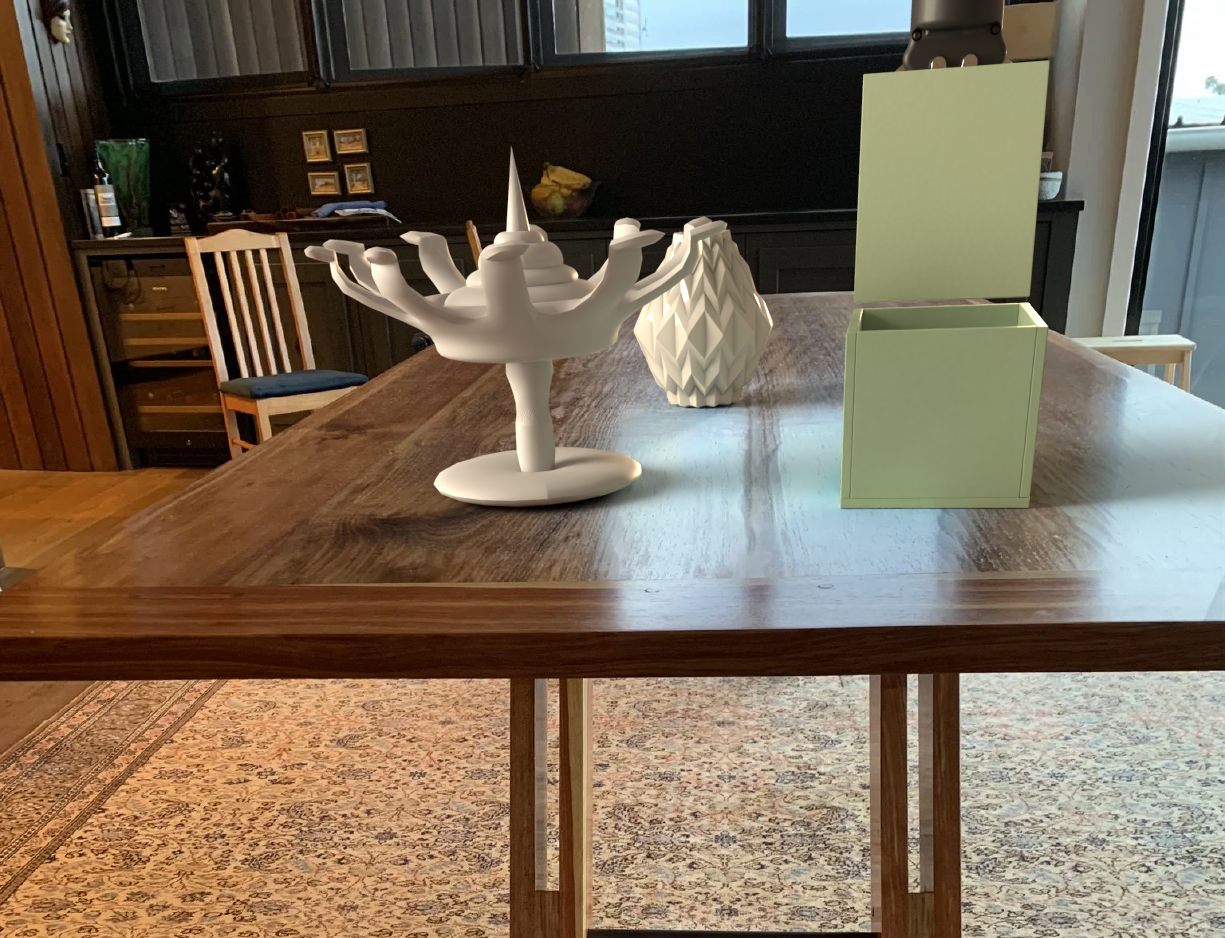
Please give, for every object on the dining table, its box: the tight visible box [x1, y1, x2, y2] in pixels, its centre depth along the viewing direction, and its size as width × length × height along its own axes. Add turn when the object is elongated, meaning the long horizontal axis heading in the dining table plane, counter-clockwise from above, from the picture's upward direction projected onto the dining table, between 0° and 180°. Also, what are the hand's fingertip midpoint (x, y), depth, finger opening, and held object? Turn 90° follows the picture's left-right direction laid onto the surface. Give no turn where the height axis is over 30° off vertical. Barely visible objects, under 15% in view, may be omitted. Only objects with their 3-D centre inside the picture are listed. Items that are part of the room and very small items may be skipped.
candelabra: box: [304, 146, 728, 508], centre depth 104 cm, size 34×35×27 cm
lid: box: [853, 60, 1050, 304], centre depth 101 cm, size 17×15×1 cm
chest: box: [839, 302, 1049, 509], centre depth 100 cm, size 17×15×13 cm
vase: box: [633, 229, 774, 409], centre depth 141 cm, size 16×16×18 cm
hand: (944, 197), depth 108 cm, fingers closed
